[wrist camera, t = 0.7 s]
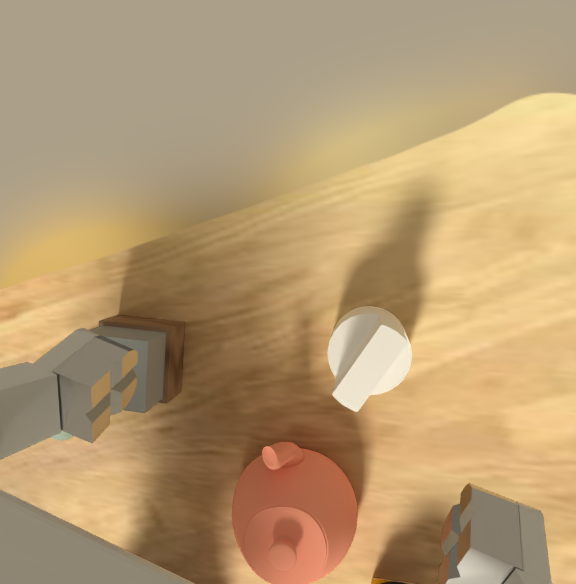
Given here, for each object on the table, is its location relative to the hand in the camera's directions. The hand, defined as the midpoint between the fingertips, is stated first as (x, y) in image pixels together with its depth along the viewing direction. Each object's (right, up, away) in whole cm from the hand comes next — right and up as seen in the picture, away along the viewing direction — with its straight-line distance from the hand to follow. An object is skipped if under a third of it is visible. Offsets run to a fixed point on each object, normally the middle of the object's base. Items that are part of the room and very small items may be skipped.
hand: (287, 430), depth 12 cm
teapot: (+1, -22, +53) cm, 57 cm away
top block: (-18, -5, +49) cm, 52 cm away
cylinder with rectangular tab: (+10, -3, +49) cm, 50 cm away
